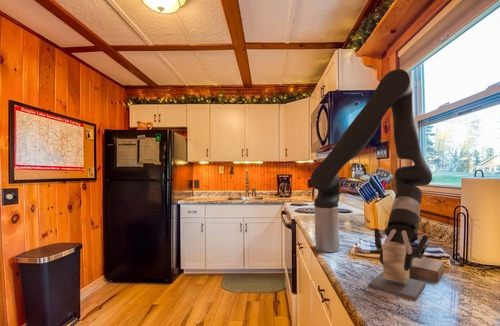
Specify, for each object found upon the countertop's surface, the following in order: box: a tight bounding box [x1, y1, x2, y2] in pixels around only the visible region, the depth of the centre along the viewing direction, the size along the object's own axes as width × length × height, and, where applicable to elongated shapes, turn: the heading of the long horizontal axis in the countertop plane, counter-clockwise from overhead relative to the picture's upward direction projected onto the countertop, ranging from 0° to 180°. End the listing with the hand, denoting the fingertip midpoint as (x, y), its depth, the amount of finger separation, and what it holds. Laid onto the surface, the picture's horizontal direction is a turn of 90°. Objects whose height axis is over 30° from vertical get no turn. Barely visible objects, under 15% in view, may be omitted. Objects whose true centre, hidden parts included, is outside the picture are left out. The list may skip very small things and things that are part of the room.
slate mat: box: [368, 271, 427, 301], centre depth 69 cm, size 11×11×1 cm
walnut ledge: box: [409, 256, 445, 283], centre depth 78 cm, size 9×11×3 cm
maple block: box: [382, 241, 411, 283], centre depth 69 cm, size 5×5×9 cm
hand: (394, 266), depth 68 cm, fingers closed on maple block, 5 cm apart
